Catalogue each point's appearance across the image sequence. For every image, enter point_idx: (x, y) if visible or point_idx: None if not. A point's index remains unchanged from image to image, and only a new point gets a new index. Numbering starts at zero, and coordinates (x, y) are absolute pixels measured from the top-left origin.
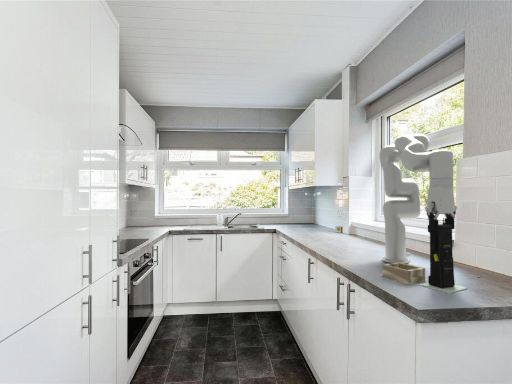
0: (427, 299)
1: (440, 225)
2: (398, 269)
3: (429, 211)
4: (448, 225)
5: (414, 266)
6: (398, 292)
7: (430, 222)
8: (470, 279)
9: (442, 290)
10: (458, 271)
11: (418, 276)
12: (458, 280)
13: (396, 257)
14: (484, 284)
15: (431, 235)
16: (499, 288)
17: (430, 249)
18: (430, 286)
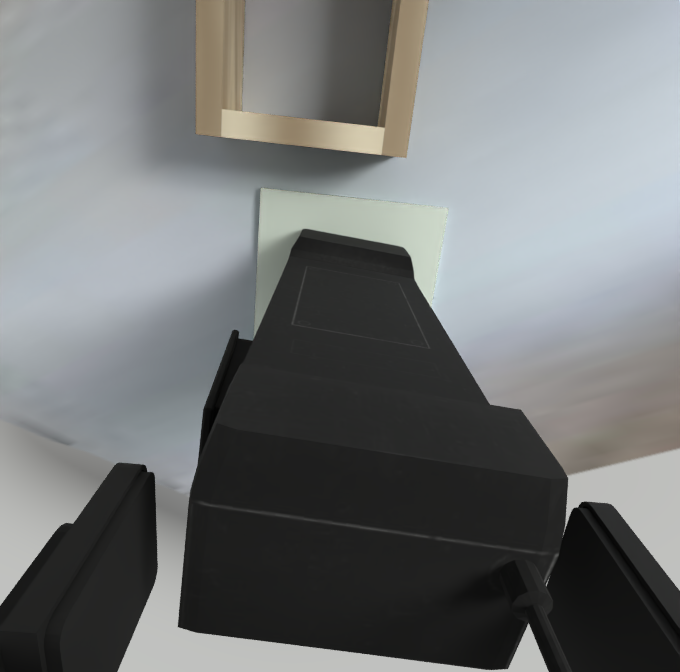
0: (70, 342)
1: (237, 629)
2: (196, 29)
3: None
4: (422, 660)
5: (399, 64)
6: (18, 196)
7: (9, 610)
8: (659, 305)
9: (257, 328)
10: None
11: (322, 148)
12: (578, 274)
13: None
14: (592, 388)
15: (203, 417)
16: (562, 451)
17: (232, 334)
18: (273, 255)
